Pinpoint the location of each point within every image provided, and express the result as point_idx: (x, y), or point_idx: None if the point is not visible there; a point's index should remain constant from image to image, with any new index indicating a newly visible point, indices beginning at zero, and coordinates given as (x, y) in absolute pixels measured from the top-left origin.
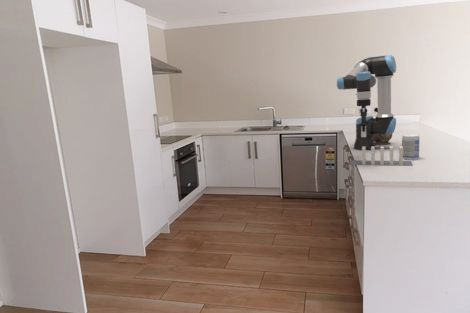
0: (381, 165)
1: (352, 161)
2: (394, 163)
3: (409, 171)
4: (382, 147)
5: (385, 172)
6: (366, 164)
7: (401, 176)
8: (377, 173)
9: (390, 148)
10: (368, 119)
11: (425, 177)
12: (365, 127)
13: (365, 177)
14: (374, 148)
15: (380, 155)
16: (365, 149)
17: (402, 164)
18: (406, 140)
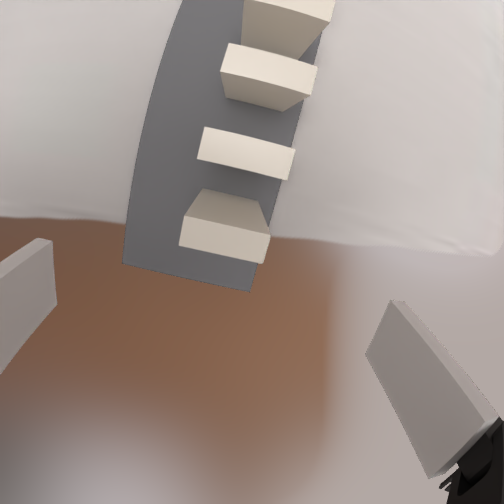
0: (300, 110)
1: (156, 261)
2: None
3: (427, 38)
4: (287, 69)
5: (433, 145)
6: (257, 193)
7: (488, 115)
8: (441, 188)
9: (329, 20)
10: None
11: (497, 49)
12: (476, 404)
13: (471, 253)
14: (294, 149)
15: (295, 103)
16: (225, 218)
17: None
18: None
